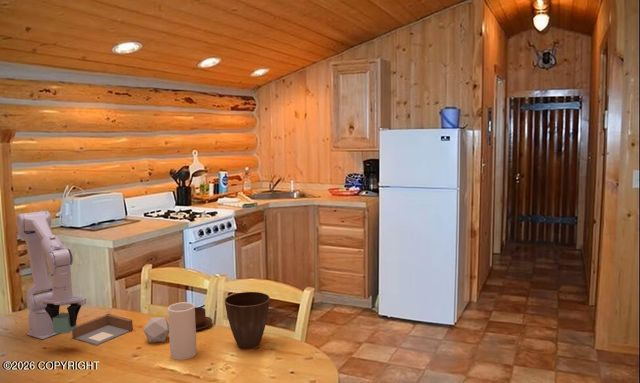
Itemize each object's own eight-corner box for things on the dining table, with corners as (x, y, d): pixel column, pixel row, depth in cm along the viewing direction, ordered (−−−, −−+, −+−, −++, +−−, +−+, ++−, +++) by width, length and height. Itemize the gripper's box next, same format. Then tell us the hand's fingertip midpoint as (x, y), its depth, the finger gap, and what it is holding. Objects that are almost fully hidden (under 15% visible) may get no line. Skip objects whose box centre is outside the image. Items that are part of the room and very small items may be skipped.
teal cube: (53, 333, 168) (52, 318, 167) (62, 327, 173) (60, 312, 172) (68, 333, 168) (67, 318, 167) (76, 327, 173) (75, 312, 172)
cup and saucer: (176, 324, 193) (175, 308, 192) (208, 318, 198) (207, 303, 197) (182, 335, 182) (181, 318, 182) (215, 329, 187) (215, 313, 187)
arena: (72, 338, 181) (71, 327, 180) (109, 323, 194) (108, 313, 193) (96, 345, 174) (96, 334, 174) (132, 330, 187) (132, 319, 187)
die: (156, 349, 172) (172, 323, 174) (134, 336, 173) (151, 310, 175) (163, 348, 180) (178, 323, 182) (142, 335, 181) (158, 310, 183)
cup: (201, 350, 169) (199, 303, 167) (187, 361, 162) (185, 312, 160) (180, 347, 172) (177, 301, 170) (165, 357, 164) (162, 309, 162)
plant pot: (235, 334, 182) (234, 290, 180) (276, 337, 179) (275, 292, 177) (219, 352, 168) (217, 304, 166) (263, 355, 165) (261, 307, 163)
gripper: (33, 289, 165) (36, 330, 167) (77, 289, 164) (80, 330, 166) (45, 282, 172) (48, 322, 174) (88, 282, 171) (91, 322, 173)
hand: (65, 325), depth 170 cm, fingers closed on teal cube, 5 cm apart
